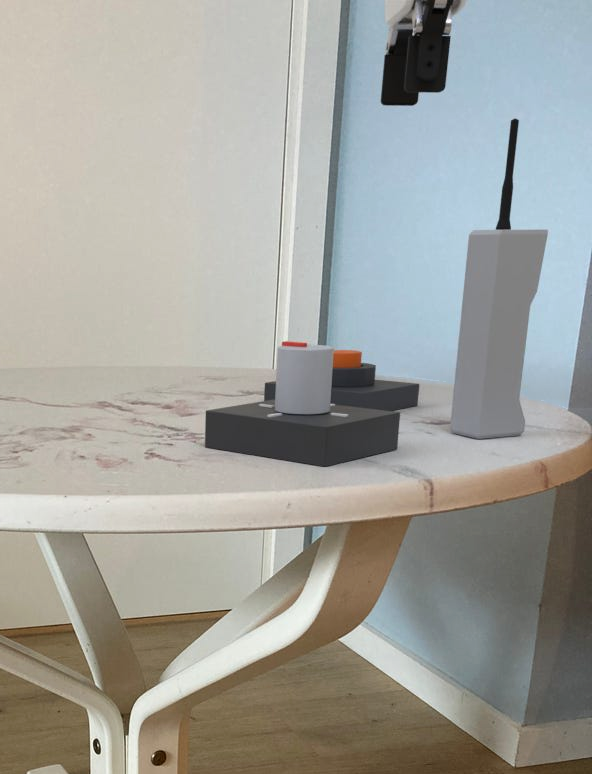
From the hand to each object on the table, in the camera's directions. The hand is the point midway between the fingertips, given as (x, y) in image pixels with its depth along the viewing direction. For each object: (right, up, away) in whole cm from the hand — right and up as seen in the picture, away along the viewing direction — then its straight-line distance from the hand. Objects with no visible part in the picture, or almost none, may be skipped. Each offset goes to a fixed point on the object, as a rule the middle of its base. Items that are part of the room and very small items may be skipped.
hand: (410, 98), depth 94 cm
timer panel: (-10, -30, -3) cm, 32 cm away
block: (-2, -22, +20) cm, 29 cm away
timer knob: (-10, -27, -4) cm, 30 cm away
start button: (-2, -18, +19) cm, 26 cm away
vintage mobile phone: (+7, -28, +3) cm, 29 cm away
